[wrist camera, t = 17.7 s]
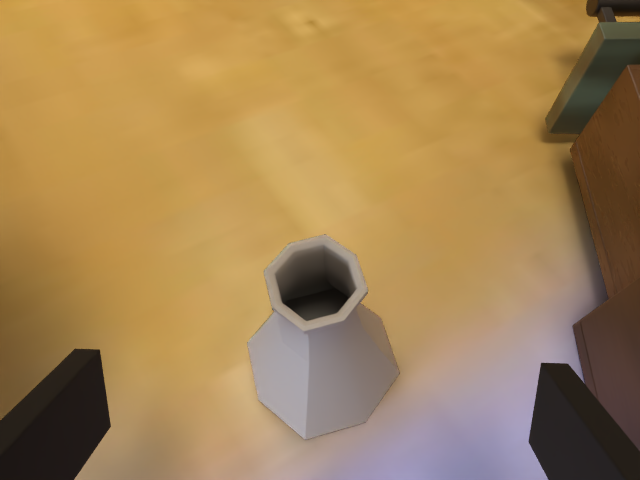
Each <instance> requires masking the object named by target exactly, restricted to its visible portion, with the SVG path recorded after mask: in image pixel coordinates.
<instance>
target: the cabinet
mask: <svg viewBox="0 0 640 480" xmlns="http://www.w3.org/2000/svg"><path fill="white" fill-rule="evenodd" d="M573 329H574V334H575V339H576V343H577V348H578V352H579V357H580V362H581V366H582V371H583V375H584V380H585V384H586V386H587V387H588V389H589V390H590V391H591V392H592V394H593V395H594V396H595V397H596V398H597V400H598V401H599V402H600V403H601V404H602V406H603V407H604V408H605V409H606V411H607V412H608V413H609V414H610V415H611V417H612V418H613V419H614V420H615V422H616V423H617V424H618V425H619V426H620V428H621V429H622V430H623V431H624V432H625V434H626V435H627V436H628V437H629V439H630V440H631V441H632V442H633V443H634V445H635V446H636V447H637V448H638V450H639V451H640V277H639V278H638V279H636V280H635V281H634V282H632V283H631V284H629V285H628V286H627V287H625V288H624V289H622V290H621V291H620V292H618V293H617V294H615V295H614V296H613V297H611V298H610V299H609V300H607V301H606V302H604V303H603V304H602V305H600V306H599V307H597V308H596V309H595V310H593V311H592V312H591V313H589V314H588V315H586V316H585V317H584V318H582V319H581V320H580V321H578V322H577V323H576V324H574V325H573Z"/></svg>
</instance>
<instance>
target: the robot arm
mask: <svg viewBox="0 0 640 480" xmlns="http://www.w3.org/2000/svg"><path fill="white" fill-rule="evenodd" d="M110 427H111V425H110V418H109V411H108V404H107V397H106V390H105V383H104V376H103V369H102V362H101V355H100V350H93V349H74V350H73V351H72V352H71V353H70V354H69V355H68V356H67V357H66V358H65V359H64V360H63V361H62V362H61V363H60V364H59V365H58V366H57V367H56V368H55V369H54V370H53V371H52V372H51V373H50V374H49V375H48V376H46V377H45V378H44V379H43V380H42V381H41V382H40V383H39V384H38V385H37V386H36V387H35V388H34V389H33V390H32V391H31V392H30V393H29V394H28V395H27V396H26V397H25V398H24V399H23V400H22V401H21V402H20V403H18V404H17V405H16V406H15V407H14V408H13V409H12V410H11V411H10V412H9V413H8V414H7V415H6V416H5V417H4V418H3V419H2V420H1V421H0V480H74V479H75V477H76V476H77V474H78V473H79V472H80V470H81V469H82V467H83V466H84V464H85V463H86V461H87V460H88V459H89V457H90V456H91V454H92V453H93V451H94V450H95V448H96V447H97V446H98V444H99V443H100V441H101V440H102V438H103V437H104V435H105V434H106V433H107V431H108V430H109V428H110ZM529 443H530V445H531V447H532V449H533V451H534V453H535V455H536V457H537V459H538V461H539V462H540V464H541V466H542V468H543V470H544V472H545V474H546V476H547V478H548V479H549V480H640V451H639V450H638V448H637V447H636V446H635V445H634V443H633V442H632V441H631V440H630V439H629V437H628V436H627V435H626V434H625V432H624V431H623V430H622V429H621V428H620V426H619V425H618V424H617V423H616V422H615V420H614V419H613V418H612V417H611V415H610V414H609V413H608V412H607V411H606V409H605V408H604V407H603V406H602V404H601V403H600V402H599V401H598V400H597V398H596V397H595V396H594V395H593V394H592V392H591V391H590V390H589V389H588V387H587V386H586V385H585V384H584V383H583V381H582V380H581V379H580V378H579V376H578V375H577V374H576V373H575V372H574V370H573V369H572V368H571V367H570V366H569V364H560V363H541V367H540V374H539V380H538V386H537V393H536V399H535V405H534V411H533V418H532V424H531V430H530V436H529Z"/></svg>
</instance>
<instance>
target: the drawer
mask: <svg viewBox="0 0 640 480" xmlns="http://www.w3.org/2000/svg"><path fill="white" fill-rule="evenodd" d="M586 11H587V15H588V16H590V17H597V18H598V20H599V23H598V25H597V27H596V29H595V30H594V32H593V34H592V36H591V38H590V39H589V41H588V43H587V45H586V47H585V48H584V50H583V52H582V54H581V56H580V57H579V59H578V61H577V63H576V65H575V66H574V68H573V70H572V72H571V74H570V75H569V77H568V79H567V81H566V82H565V84H564V86H563V88H562V90H561V91H560V93H559V95H558V97H557V99H556V100H555V102H554V104H553V106H552V108H551V109H550V111H549V113H548V115H547V117H546V118H545V120H546V124H547V128H548V132H549V134H580V135H579V137H578V138H577V140H576V141H575V142H574V144H573V145H572V147H571V148H570V152H571V156H572V160H573V164H574V167H575V171H576V175H577V179H578V183H579V187H580V190H581V194H582V198H583V202H584V206H585V210H586V213H587V217H588V221H589V225H590V229H591V233H592V237H593V240H594V244H595V248H596V252H597V256H598V260H599V263H600V267H601V271H602V275H603V279H604V283H605V286H606V290H607V294H608V298H609V299H610V298H611V297H613V296H614V295H615V294H617V293H618V292H620V291H621V290H622V289H624V288H625V287H627V286H628V285H629V284H631V283H632V282H634V281H635V280H636V279H638V278H639V277H640V22H617V21H616V19H615V16H640V0H588V1H587V6H586Z"/></svg>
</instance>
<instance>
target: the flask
mask: <svg viewBox="0 0 640 480" xmlns="http://www.w3.org/2000/svg"><path fill="white" fill-rule="evenodd" d="M264 276H265V280H266V284H267V289H268V293H269V297H270V302H271V306H272V310H273V311H274V312H273V313H272V314H271V315H270V317H269V318H268V319H267V320H266V321H265V322H264V324H263V325H262V326H261V327H260V328H259V329H258V331H257V332H256V333H255V334H254V335H253V336H252V337H251V339H250V340H249V341H248V342H247V345H248V350H249V355H250V360H251V365H252V370H253V375H254V380H255V385H256V390H257V395H258V400H259V401H260V402H261V403H263V404H264V405H265V406H266V407H267V408H269V409H270V410H271V411H272V412H273V413H274V414H276V415H277V416H278V417H279V418H280V419H281V420H283V421H284V422H285V423H286V424H287V425H288V426H290V427H291V428H292V429H293V430H294V431H295V432H297V433H298V434H299V435H300V436H301V437H302V438H304V439H305V440H307V439H310V438H313V437H317V436H320V435H324V434H327V433H331V432H334V431H338V430H341V429H345V428H348V427H352V426H355V425H358V424H362V423H365V422H366V421H367V419H368V418H369V416H370V415H371V414H372V412H373V411H374V409H375V408H376V406H377V405H378V404H379V402H380V401H381V399H382V398H383V396H384V395H385V394H386V392H387V391H388V389H389V388H390V386H391V385H392V384H393V382H394V381H395V379H396V378H397V376H398V375H399V374H400V372H399V369H398V366H397V363H396V360H395V357H394V354H393V352H392V349H391V346H390V343H389V340H388V337H387V334H386V331H385V328H384V325H383V322H382V319H381V318H380V317H379V316H378V315H376V314H375V313H374V312H372V311H371V310H369V309H368V308H366V307H365V306H364V305H362V304H361V303H360V302H361V301H362V300H363V298H364V297H365V296H366V295H367V293H368V288H367V285H366V282H365V279H364V276H363V273H362V270H361V267H360V264H359V261H358V258H357V255H356V254H354V253H353V252H351V251H350V250H348V249H347V248H345V247H344V246H342V245H341V244H339V243H338V242H336V241H335V240H334V239H332V238H331V237H329V236H328V235H326V234H324V235H320V236H316V237H312V238H308V239H304V240H300V241H296V242H292V243H289V244H288V245H287V246H286V247H285V248H284V249H283V250H282V251H281V252H280V254H279V255H278V256H277V257H276V258H275V259H274V260H273V261H272V262H271V263H270V265H269V266H268V267H267V268H266V269H265V270H264Z"/></svg>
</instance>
